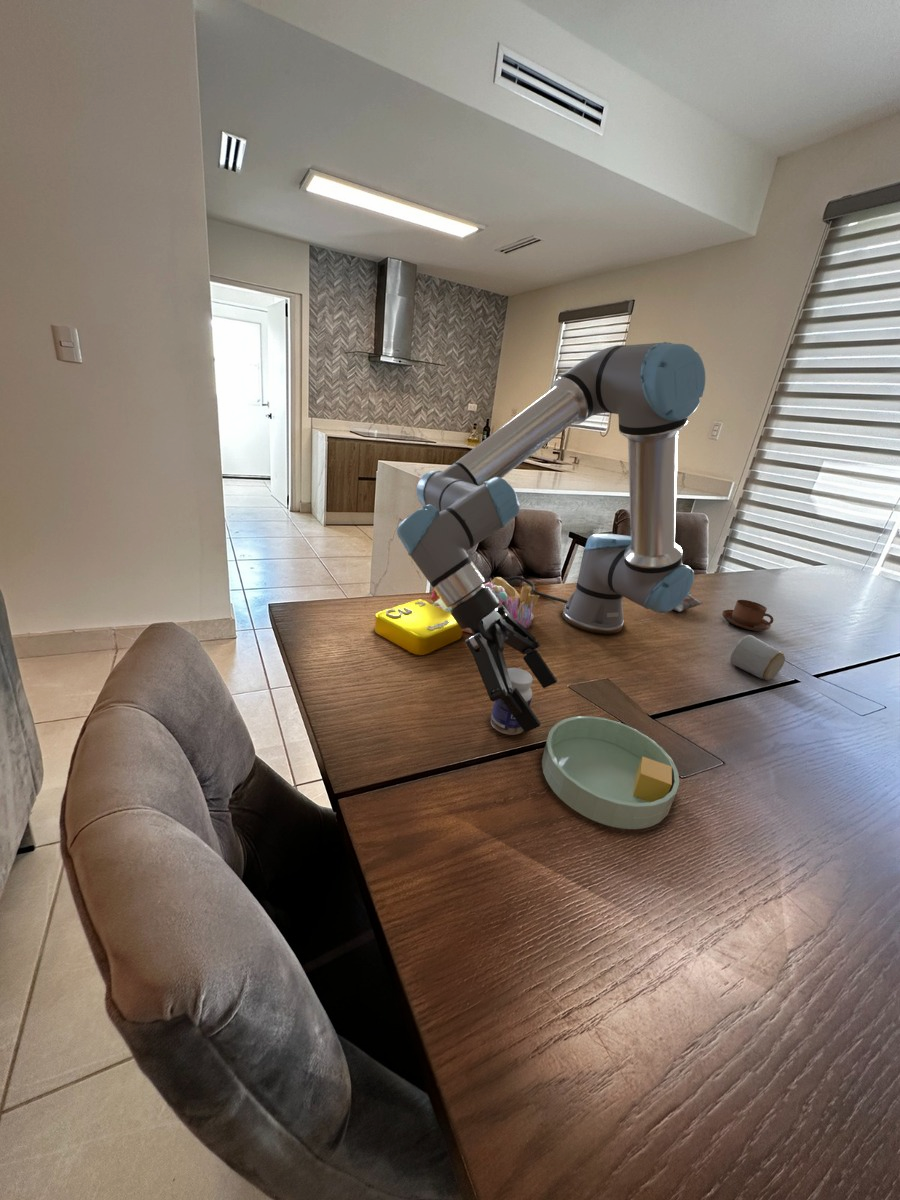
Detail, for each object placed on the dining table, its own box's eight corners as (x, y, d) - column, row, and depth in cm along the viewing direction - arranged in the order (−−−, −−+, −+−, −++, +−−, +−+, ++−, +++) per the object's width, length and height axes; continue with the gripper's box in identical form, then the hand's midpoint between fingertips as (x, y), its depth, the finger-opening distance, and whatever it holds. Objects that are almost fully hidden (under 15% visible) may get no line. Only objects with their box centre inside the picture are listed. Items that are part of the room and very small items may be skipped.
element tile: (419, 658, 95) (421, 637, 93) (370, 630, 104) (371, 611, 102) (465, 637, 106) (468, 618, 104) (418, 614, 115) (419, 596, 113)
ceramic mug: (762, 685, 101) (776, 654, 98) (725, 666, 107) (737, 636, 104) (785, 676, 106) (799, 646, 104) (749, 658, 113) (761, 630, 110)
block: (633, 795, 66) (640, 773, 64) (634, 777, 69) (642, 756, 68) (663, 807, 64) (671, 784, 63) (663, 788, 68) (671, 766, 66)
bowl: (516, 766, 69) (521, 742, 68) (587, 725, 81) (593, 703, 79) (625, 857, 57) (635, 830, 55) (692, 793, 68) (702, 769, 67)
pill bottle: (510, 742, 74) (522, 689, 70) (483, 724, 78) (492, 673, 74) (531, 727, 78) (542, 677, 74) (503, 710, 82) (513, 661, 78)
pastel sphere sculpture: (480, 589, 134) (484, 559, 131) (549, 620, 120) (556, 586, 116) (415, 609, 117) (418, 574, 114) (487, 647, 103) (493, 609, 99)
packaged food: (699, 610, 139) (704, 595, 137) (678, 617, 132) (683, 601, 130) (672, 600, 145) (676, 585, 143) (650, 606, 138) (655, 590, 136)
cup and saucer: (768, 625, 135) (776, 605, 132) (768, 639, 125) (777, 618, 123) (721, 612, 140) (729, 593, 138) (718, 624, 130) (726, 604, 128)
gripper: (475, 585, 87) (539, 677, 88) (416, 637, 66) (502, 759, 67) (507, 564, 84) (573, 661, 85) (456, 612, 62) (546, 741, 63)
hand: (542, 704), depth 76 cm, fingers open, 13 cm apart
